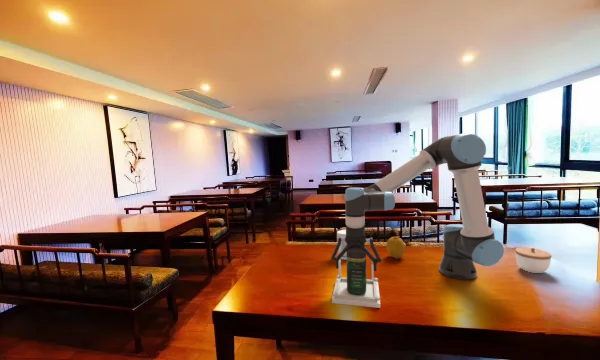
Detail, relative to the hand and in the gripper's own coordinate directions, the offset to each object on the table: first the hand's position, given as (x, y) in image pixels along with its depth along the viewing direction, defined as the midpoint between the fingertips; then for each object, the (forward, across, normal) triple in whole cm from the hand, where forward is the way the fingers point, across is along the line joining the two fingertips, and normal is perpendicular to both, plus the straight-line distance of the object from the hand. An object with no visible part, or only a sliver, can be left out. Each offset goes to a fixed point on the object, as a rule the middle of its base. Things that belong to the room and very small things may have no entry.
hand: (356, 277), depth 107 cm
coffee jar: (+6, 0, 0) cm, 6 cm away
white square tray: (+7, 0, 0) cm, 7 cm away
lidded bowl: (+7, -80, -36) cm, 88 cm away
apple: (+7, -20, -44) cm, 49 cm away
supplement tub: (+7, +7, -40) cm, 41 cm away
